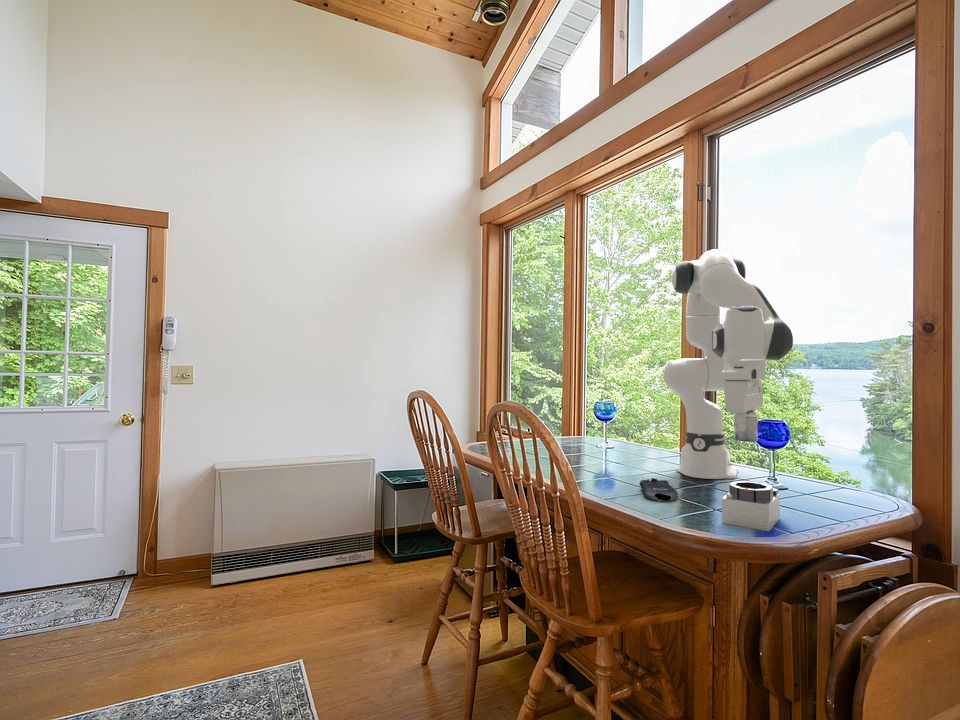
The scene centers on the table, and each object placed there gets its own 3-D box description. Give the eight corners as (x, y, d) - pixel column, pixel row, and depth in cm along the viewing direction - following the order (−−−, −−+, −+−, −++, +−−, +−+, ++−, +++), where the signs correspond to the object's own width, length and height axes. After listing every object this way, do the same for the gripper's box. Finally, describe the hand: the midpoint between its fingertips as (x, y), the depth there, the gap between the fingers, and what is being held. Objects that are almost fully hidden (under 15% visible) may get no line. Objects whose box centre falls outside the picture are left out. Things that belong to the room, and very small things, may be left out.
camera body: (736, 510, 137) (735, 476, 137) (780, 517, 131) (779, 482, 131) (722, 523, 127) (721, 486, 127) (769, 531, 121) (768, 492, 121)
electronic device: (636, 494, 162) (646, 500, 147) (638, 475, 162) (648, 480, 148) (668, 499, 161) (681, 505, 146) (669, 480, 161) (683, 485, 147)
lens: (737, 438, 133) (737, 409, 133) (760, 439, 130) (759, 410, 130) (731, 440, 129) (731, 410, 129) (754, 442, 126) (754, 411, 126)
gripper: (742, 371, 140) (743, 424, 139) (718, 372, 124) (719, 432, 124) (769, 371, 135) (770, 426, 135) (748, 372, 120) (749, 434, 120)
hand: (745, 429), depth 129 cm, fingers closed on lens, 5 cm apart
